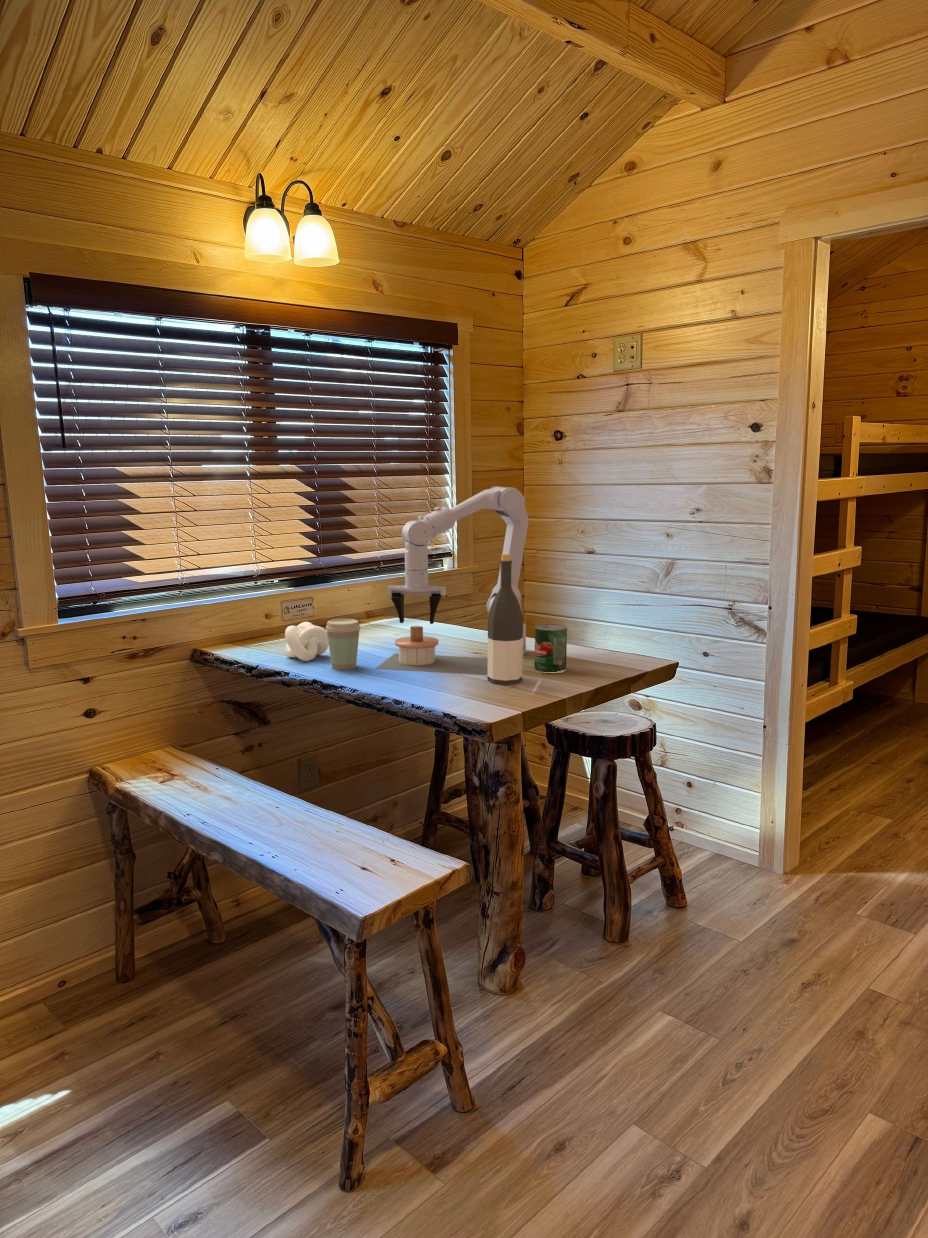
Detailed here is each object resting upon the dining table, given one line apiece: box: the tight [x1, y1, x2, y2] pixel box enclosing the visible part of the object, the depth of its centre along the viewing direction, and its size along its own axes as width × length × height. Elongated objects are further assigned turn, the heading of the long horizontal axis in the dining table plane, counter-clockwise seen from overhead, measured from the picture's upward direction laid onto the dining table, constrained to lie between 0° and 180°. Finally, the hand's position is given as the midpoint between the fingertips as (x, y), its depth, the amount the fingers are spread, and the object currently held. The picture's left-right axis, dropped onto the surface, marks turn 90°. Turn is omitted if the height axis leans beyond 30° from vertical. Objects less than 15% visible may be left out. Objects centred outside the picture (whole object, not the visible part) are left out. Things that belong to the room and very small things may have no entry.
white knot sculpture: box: [284, 621, 329, 662], centre depth 218 cm, size 11×12×9 cm
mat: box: [375, 652, 488, 676], centre depth 211 cm, size 28×17×1 cm, turn 78°
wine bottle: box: [487, 553, 524, 686], centre depth 193 cm, size 8×8×30 cm
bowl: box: [398, 646, 436, 665], centre depth 214 cm, size 9×9×4 cm
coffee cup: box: [324, 618, 361, 671], centre depth 207 cm, size 8×9×12 cm
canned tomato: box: [534, 622, 568, 673], centre depth 206 cm, size 8×8×11 cm
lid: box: [394, 625, 439, 649], centre depth 213 cm, size 11×11×4 cm
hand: (416, 622), depth 212 cm, fingers open, 7 cm apart
